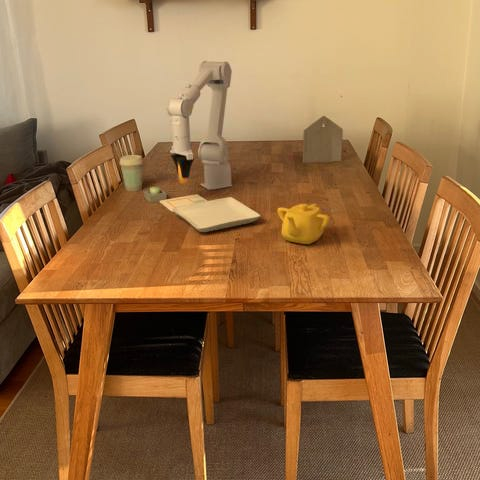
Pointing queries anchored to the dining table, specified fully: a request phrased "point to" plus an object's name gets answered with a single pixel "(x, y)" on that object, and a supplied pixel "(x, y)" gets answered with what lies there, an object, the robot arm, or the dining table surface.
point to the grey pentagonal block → (322, 142)
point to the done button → (154, 190)
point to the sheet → (182, 201)
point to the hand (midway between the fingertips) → (183, 176)
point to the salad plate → (216, 214)
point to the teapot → (303, 223)
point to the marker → (181, 180)
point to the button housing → (155, 196)
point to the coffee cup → (132, 172)
